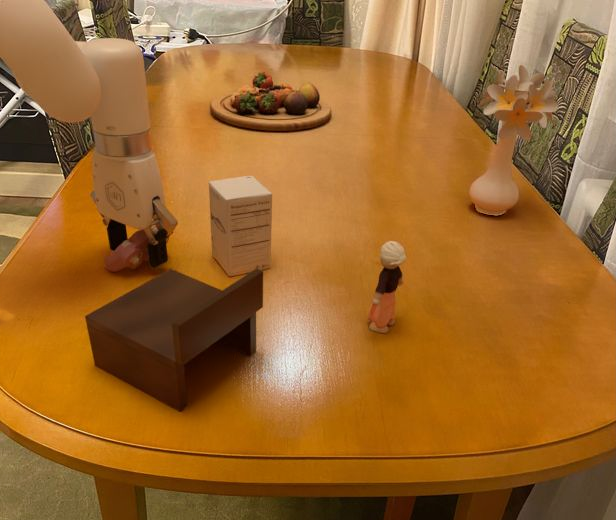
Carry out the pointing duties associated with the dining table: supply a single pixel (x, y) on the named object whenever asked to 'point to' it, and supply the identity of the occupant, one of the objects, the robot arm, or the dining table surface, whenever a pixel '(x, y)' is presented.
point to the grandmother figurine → (387, 287)
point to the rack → (172, 329)
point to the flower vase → (511, 134)
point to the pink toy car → (130, 252)
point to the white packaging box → (240, 224)
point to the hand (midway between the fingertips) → (138, 255)
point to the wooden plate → (271, 106)
